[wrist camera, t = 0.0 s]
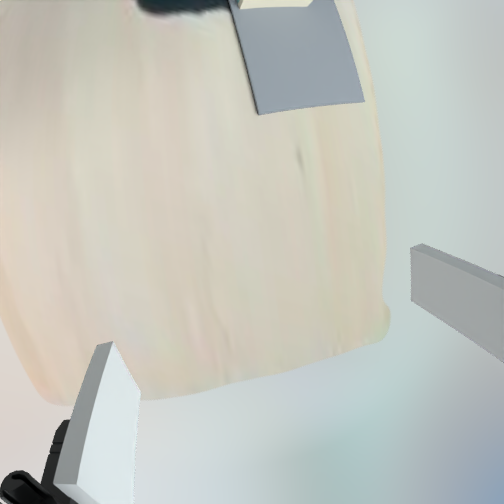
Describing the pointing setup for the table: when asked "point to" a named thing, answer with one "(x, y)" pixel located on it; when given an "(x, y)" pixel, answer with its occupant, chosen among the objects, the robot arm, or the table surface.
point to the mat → (297, 56)
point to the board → (272, 3)
